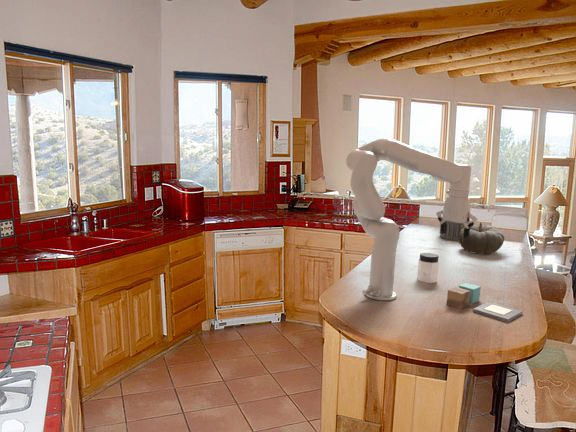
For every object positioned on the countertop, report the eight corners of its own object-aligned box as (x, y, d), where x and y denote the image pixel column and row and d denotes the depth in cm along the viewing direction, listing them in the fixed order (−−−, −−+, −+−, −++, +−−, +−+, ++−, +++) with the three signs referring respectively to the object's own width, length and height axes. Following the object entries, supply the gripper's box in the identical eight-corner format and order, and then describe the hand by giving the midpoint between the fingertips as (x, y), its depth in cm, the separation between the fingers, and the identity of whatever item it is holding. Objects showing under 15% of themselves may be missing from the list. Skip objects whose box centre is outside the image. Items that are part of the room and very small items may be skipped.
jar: (414, 280, 217) (416, 255, 215) (419, 276, 224) (421, 251, 222) (434, 284, 213) (437, 258, 211) (439, 280, 220) (441, 254, 218)
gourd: (496, 243, 291) (498, 216, 285) (510, 260, 267) (512, 231, 262) (454, 245, 294) (454, 218, 288) (463, 262, 271) (464, 233, 265)
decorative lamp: (433, 234, 324) (437, 190, 319) (457, 234, 329) (461, 190, 324) (450, 241, 306) (455, 194, 301) (475, 240, 312) (480, 194, 307)
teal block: (472, 303, 190) (473, 289, 189) (457, 299, 194) (459, 285, 193) (479, 300, 194) (480, 286, 193) (465, 296, 198) (466, 282, 197)
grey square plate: (507, 322, 171) (508, 318, 171) (472, 311, 181) (473, 308, 181) (522, 314, 180) (522, 310, 180) (488, 304, 190) (488, 301, 189)
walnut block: (460, 308, 184) (462, 293, 183) (446, 304, 188) (447, 289, 187) (468, 305, 188) (470, 290, 187) (454, 301, 192) (455, 286, 191)
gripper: (434, 192, 200) (430, 232, 203) (475, 197, 188) (470, 240, 191) (443, 191, 205) (439, 230, 208) (483, 196, 193) (478, 238, 196)
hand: (454, 235), depth 199 cm, fingers open, 9 cm apart
